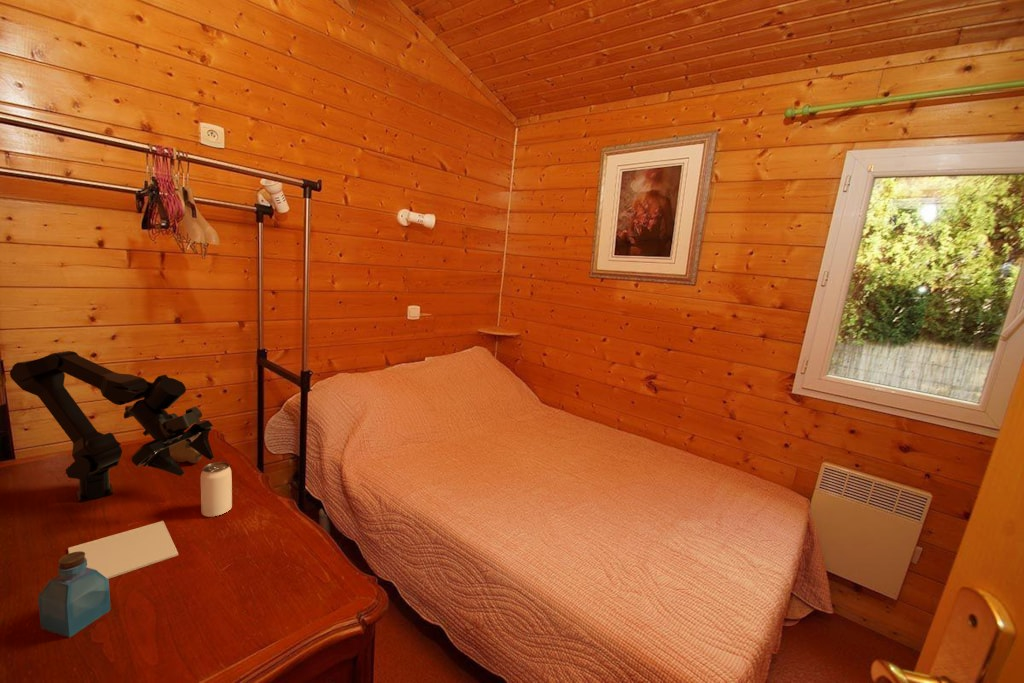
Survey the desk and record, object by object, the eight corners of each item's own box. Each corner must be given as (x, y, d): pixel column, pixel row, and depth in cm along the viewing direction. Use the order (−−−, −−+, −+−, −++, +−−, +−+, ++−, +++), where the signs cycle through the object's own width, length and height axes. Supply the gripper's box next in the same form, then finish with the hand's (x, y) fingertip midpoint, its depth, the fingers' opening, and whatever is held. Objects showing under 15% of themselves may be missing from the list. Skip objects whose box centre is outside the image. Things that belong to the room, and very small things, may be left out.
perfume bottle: (69, 637, 72) (64, 573, 70) (41, 628, 73) (35, 565, 71) (110, 610, 78) (106, 550, 76) (83, 602, 79) (79, 543, 77)
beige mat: (68, 549, 92) (68, 547, 92) (163, 522, 104) (163, 520, 104) (73, 590, 82) (73, 588, 82) (178, 555, 93) (178, 553, 93)
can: (237, 508, 112) (237, 465, 110) (211, 520, 106) (210, 475, 104) (221, 501, 115) (221, 459, 113) (195, 512, 109) (194, 468, 107)
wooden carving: (210, 461, 135) (209, 431, 134) (197, 468, 131) (196, 436, 129) (165, 453, 138) (164, 423, 136) (151, 459, 133) (150, 428, 132)
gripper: (140, 412, 98) (187, 463, 98) (205, 390, 116) (244, 434, 117) (110, 441, 100) (157, 491, 100) (179, 415, 118) (218, 458, 119)
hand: (198, 466), depth 109 cm, fingers open, 9 cm apart
